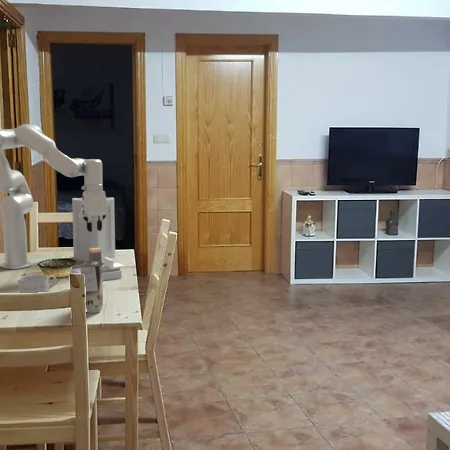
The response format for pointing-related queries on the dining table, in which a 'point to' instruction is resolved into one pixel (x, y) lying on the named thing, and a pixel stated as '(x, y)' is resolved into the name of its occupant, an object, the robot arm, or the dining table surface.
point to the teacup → (35, 283)
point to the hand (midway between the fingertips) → (94, 230)
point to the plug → (95, 254)
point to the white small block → (111, 263)
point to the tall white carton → (93, 232)
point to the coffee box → (93, 285)
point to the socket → (106, 272)
